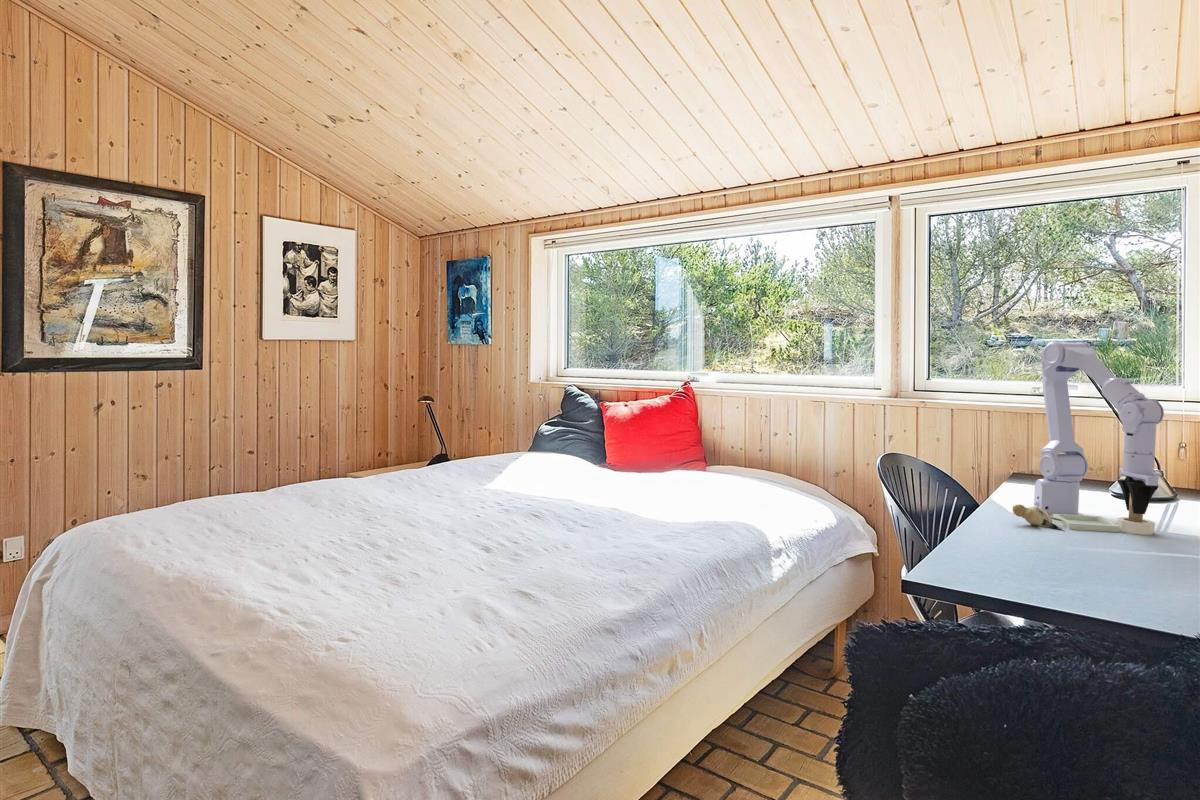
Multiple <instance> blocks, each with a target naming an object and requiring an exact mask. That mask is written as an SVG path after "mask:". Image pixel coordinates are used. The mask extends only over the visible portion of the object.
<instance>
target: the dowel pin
mask: <svg viewBox="0 0 1200 800" xmlns="http://www.w3.org/2000/svg"><path fill="white" fill-rule="evenodd" d="M1128 517H1129V520H1128V521H1131V522H1141V523H1143V519H1144V518H1143V517H1144V514H1135V513H1133V510H1132V500H1131V494H1130V500H1129V511H1128Z"/></svg>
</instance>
